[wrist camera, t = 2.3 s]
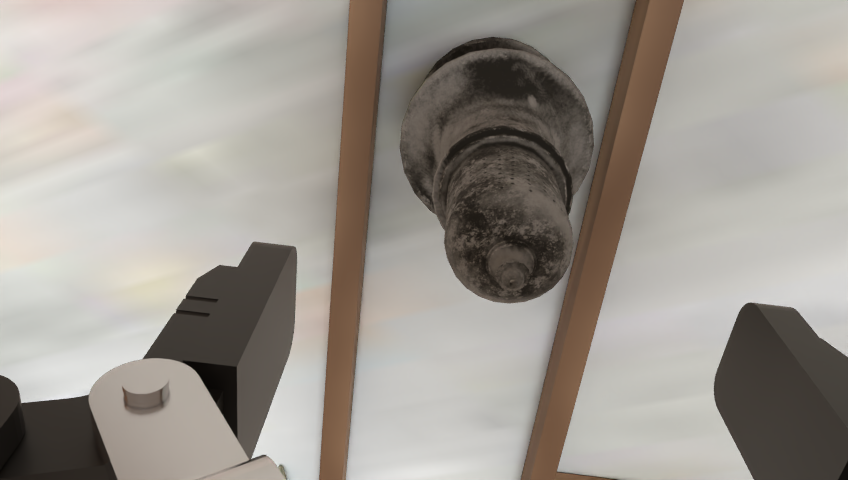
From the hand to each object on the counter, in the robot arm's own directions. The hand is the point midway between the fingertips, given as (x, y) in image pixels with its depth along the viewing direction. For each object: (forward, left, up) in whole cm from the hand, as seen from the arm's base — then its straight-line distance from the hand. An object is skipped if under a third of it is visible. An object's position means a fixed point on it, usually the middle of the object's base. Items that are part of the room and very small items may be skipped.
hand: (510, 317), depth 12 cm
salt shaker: (0, 0, -13) cm, 13 cm away
